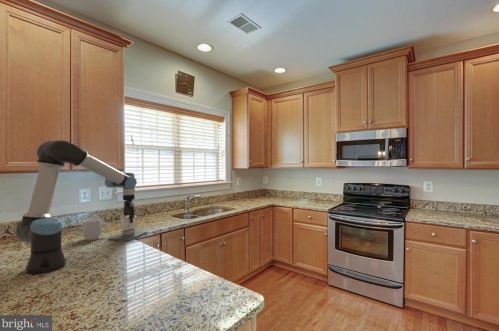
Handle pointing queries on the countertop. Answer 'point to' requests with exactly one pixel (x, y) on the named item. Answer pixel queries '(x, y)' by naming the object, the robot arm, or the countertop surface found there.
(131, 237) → the post base
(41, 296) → the countertop surface
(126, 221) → the cream cube block
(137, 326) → the countertop surface
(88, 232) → the mug
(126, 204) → the robot arm
